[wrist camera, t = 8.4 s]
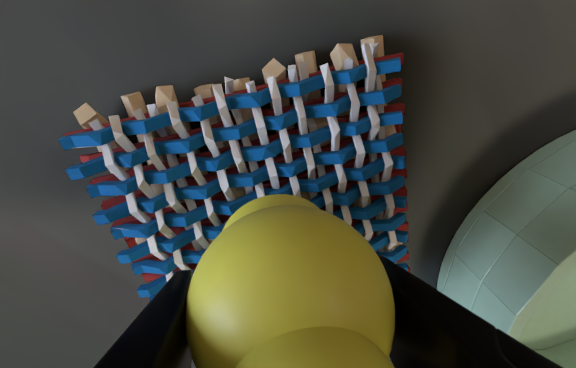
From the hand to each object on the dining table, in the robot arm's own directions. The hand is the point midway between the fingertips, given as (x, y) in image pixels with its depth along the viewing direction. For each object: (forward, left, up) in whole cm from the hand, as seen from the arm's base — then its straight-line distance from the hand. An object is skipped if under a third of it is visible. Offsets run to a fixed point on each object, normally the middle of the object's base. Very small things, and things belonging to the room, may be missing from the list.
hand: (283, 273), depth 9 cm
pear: (0, 0, -1) cm, 1 cm away
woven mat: (0, 0, -4) cm, 4 cm away
